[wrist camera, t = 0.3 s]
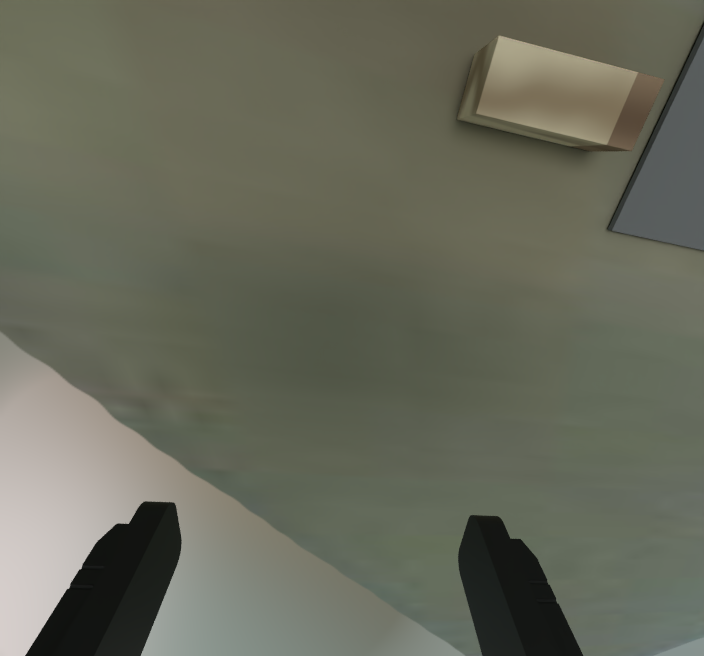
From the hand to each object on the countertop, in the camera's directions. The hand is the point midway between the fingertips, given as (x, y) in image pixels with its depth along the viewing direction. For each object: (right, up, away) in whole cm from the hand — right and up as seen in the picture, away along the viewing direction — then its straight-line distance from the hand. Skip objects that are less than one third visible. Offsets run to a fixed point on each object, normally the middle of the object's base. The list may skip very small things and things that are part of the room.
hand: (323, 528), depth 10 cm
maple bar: (+16, +24, +20) cm, 35 cm away
